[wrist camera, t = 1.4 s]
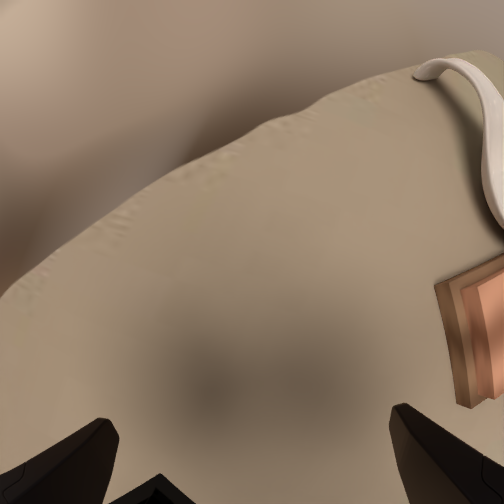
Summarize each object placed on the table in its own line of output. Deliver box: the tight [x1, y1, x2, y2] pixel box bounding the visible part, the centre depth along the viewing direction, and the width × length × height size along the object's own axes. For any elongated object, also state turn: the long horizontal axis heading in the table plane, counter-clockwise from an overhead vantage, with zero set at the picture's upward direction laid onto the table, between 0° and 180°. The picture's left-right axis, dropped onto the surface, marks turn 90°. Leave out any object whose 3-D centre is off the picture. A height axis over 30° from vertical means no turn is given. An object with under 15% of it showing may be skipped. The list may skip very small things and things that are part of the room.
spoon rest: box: [413, 58, 504, 229], centre depth 23 cm, size 24×12×7 cm, turn 24°
